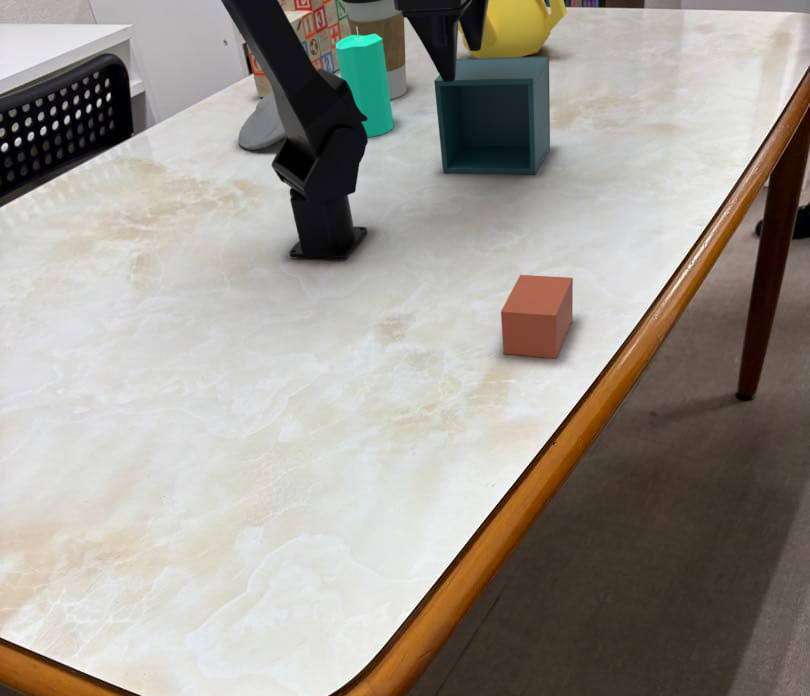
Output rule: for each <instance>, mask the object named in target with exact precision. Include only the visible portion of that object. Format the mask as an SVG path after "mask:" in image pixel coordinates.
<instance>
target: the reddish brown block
mask: <svg viewBox="0 0 810 696" xmlns="http://www.w3.org/2000/svg"><path fill="white" fill-rule="evenodd" d="M573 286H574V278H573V277H567V276H551V275H550V276H549V275H533V274H532V275H531V274H530V275H529V274H520V275H518V278H517V280H516V282H515V284H514V286H513V288H512V290H511V291H510V294H509V296H508V297H507V299H506V301H505V303H504V305H503V307H502V309H501V310H500V317H501V319H500V320H501V333H502V334H501V337H502V349H503V350H502V352H503V353H502V354H505V355H514V356H523V357H525V356H527V357H537V358H549V359H557V358H558V355H559V353H560V351H561V348H562V347H563V343H564V341H565V339H566V337H567V334H568V331H569V329H570V326H571V324H572V322H573V309H574V308H573V307H574V306H573V303H574V302H573V300H574V299H573V298H574V297H573V296H574V295H573V294H574V293H573V292H574V291H573V290H574V287H573Z"/></svg>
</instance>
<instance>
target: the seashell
mask: <svg viewBox="0 0 810 696" xmlns="http://www.w3.org/2000/svg"><path fill="white" fill-rule="evenodd" d="M254 109H255V110H254V111H253V112H252V113H251V114H250V115H249V116H248V117H247V118H246V120H245V122H244V123H243V125H242V126H241V128H240V130H239V133H238V138H237V139H238V143H239V145H240V146H241V147H242V148H243V149H246V150H250V151H252V150H261V149H263V148H266V147H269V146H272V145H273V144H275V143H276V142H278V141H280V140H282V139H285V137H286V132H285V130H284V127H283V125H282V122H281V120H280V117H279V115H278V111H277V106H276V101H275V97H274V94H269V95H267V96H265V97H261V99H260V100H259V101H258V102H257V104H256V107H255V108H254Z"/></svg>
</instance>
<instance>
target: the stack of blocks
mask: <svg viewBox="0 0 810 696" xmlns="http://www.w3.org/2000/svg"><path fill="white" fill-rule="evenodd" d="M278 2H279V3H280V5H281V7H282V9H283V11H284V13H285V14H286V16H287V18H288V20H289V22H290V24H291V25H292V27H293V29H294V31H295V33H296V35H297V36H298V38H299V40H300V42H301V44H302V46H303V47H304V49H305V51H306V53H307V55H308V57H309V58H310V60H311V62H312V64H313V66H314V67H315V69H316V70H317V71H318V69H319V68H322V69H324V70H326V71H328V72H330V73H332V74H334V73H335V72H336V71H338V70H340V69H339V63H338V57H337V51H336V43H338V42H339V41H340V40H342V39H344V38H346V37H349V36H351V31H350V27H349V23H348V12H347V7H346V3H345V2H344V1H342V0H278ZM246 45H247V44H246ZM246 47H247V51H248V59H249V63H250V67H251V71H252V75H253V79H254V80H253V81H254V83H255V88H256V93H257V97H259V98H264V97H265V96H267V95H269V94H274V92H273V89H272V86H271V84H270V82H269V80H268V79H267V77H266V75H265V74H264V72H263V70H262V69H261V67H260V65H259V63H258V62H257V60H256V58H255V57H254V55H253V53H252V52H251V50H250V48H249V47H248V45H247V46H246Z"/></svg>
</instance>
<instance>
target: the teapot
mask: <svg viewBox="0 0 810 696" xmlns="http://www.w3.org/2000/svg"><path fill="white" fill-rule="evenodd" d="M548 3H549V8H550V12H551V13H550V14H549V9H548V7H547V4H546V2H545V0H489V2H488V8H487V14H486V20H485V26H484V33H483V39H482V45H481V49H480V50H479V51H471V50H470V49H469V47H468V44H467V41H466V39H465V36H464V33H463V30H462V27H461V24H460V22H458V32H460V33H461V38H462V40H461V41H462V44H463V46H464V48H465V49H466V50H467V52H468V53H470V55H472V57H474V58H507V57H527V56H528V55H536V54H538V53H539V52H540V49H541V48H542V47H543V46H544V44H545V43H546V41H548V38H549V37H550V34H551V31H552V30H553V29H554V28H555V27H556V26H557V25H558V24H559V22H560V21H561V20H563V18H564V17H565V16H566V14H568V11H567V7H566V4H565V1H564V0H548Z"/></svg>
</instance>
